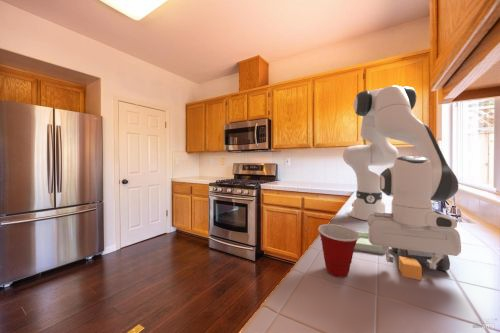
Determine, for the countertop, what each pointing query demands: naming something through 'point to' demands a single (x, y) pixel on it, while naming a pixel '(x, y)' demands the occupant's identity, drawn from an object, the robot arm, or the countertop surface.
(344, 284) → the countertop surface
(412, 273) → the chock
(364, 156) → the robot arm
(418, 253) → the cart
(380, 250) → the tray
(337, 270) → the plastic cup
